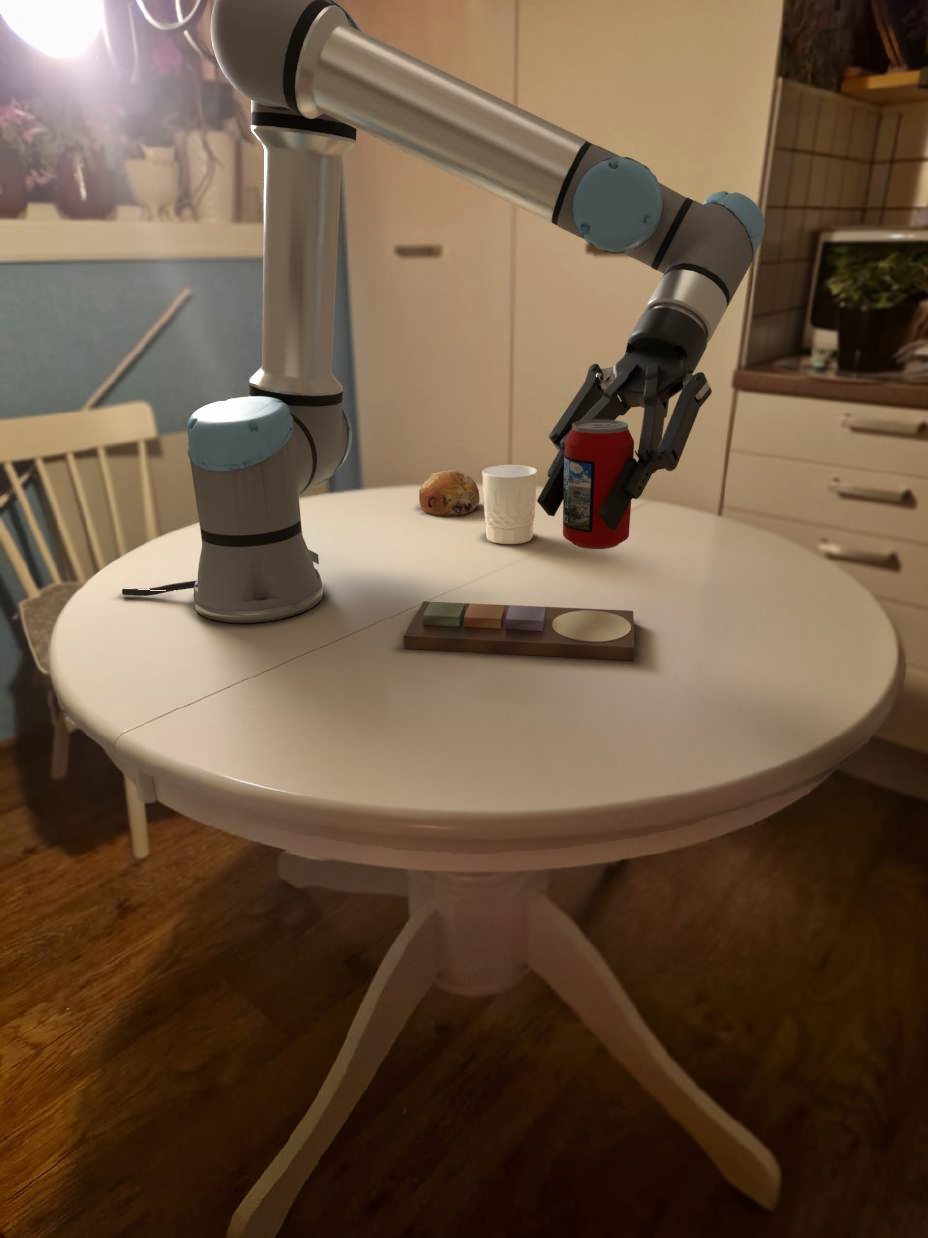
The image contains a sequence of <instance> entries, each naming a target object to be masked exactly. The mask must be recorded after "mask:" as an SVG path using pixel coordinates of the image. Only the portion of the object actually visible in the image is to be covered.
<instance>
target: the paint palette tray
mask: <svg viewBox="0 0 928 1238" xmlns="http://www.w3.org/2000/svg"><path fill="white" fill-rule="evenodd" d="M634 623H635V622H634V611H633V610H628V609H627V610H624V609H604V608H603V609H602V608H582V607H581V608H580V607H562V606H561V607H560V606H558V607H557V606H538V605H537V606H536V605H517V604H515V605H514V604H496V603H495V604H491V603H471V602H451V601H450V602H447V601H425V600H423V601H422V602H421V604H420V605H419V608H418V610H417V611H416V613H415V614H414V616H413V619H412V620H411V622H410V624H409V625H408V627H407V629H406V630H405V632H404V634H403V648H404V649H409V650H413V649H414V650H426V651H427V650H428V651H444V652H445V651H446V652H465V653H486V654H500V655H502V654H503V655H521V656H539V657H558V658H559V657H560V658H576V659H577V658H578V659H593V660H595V659H596V660H611V661H612V660H613V661H632V662H633V661H634V660H635V649H636V648H635V647H636V646H635V645H636V644H635V626H634Z"/></svg>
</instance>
